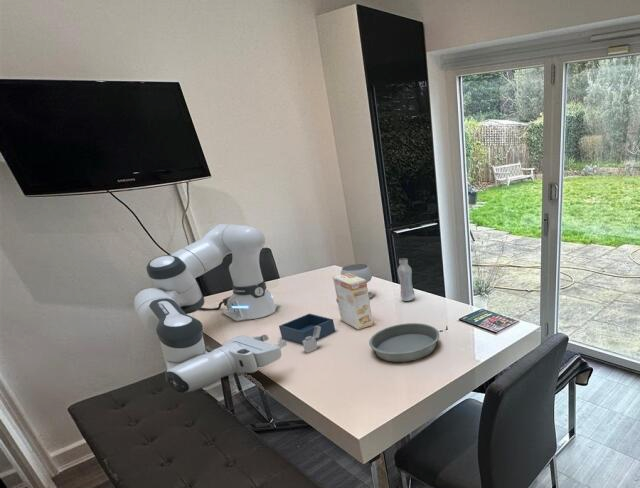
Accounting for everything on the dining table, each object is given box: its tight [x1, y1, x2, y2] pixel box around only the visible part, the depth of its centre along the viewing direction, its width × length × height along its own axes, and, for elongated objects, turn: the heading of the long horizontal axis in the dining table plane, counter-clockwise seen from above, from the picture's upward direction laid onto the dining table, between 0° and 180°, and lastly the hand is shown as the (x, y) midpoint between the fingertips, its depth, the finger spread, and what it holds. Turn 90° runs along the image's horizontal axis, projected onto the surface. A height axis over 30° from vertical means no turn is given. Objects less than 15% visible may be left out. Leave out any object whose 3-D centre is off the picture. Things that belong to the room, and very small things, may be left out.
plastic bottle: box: [396, 257, 416, 302], centre depth 190 cm, size 6×7×20 cm
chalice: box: [340, 263, 374, 299], centre depth 195 cm, size 14×14×15 cm
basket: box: [278, 313, 336, 345], centre depth 159 cm, size 14×14×5 cm
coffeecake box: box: [332, 273, 374, 330], centre depth 166 cm, size 15×7×20 cm, turn 47°
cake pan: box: [368, 322, 440, 363], centre depth 148 cm, size 25×25×4 cm
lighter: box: [302, 326, 321, 354], centre depth 147 cm, size 7×2×8 cm, turn 148°
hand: (275, 339), depth 135 cm, fingers open, 8 cm apart
